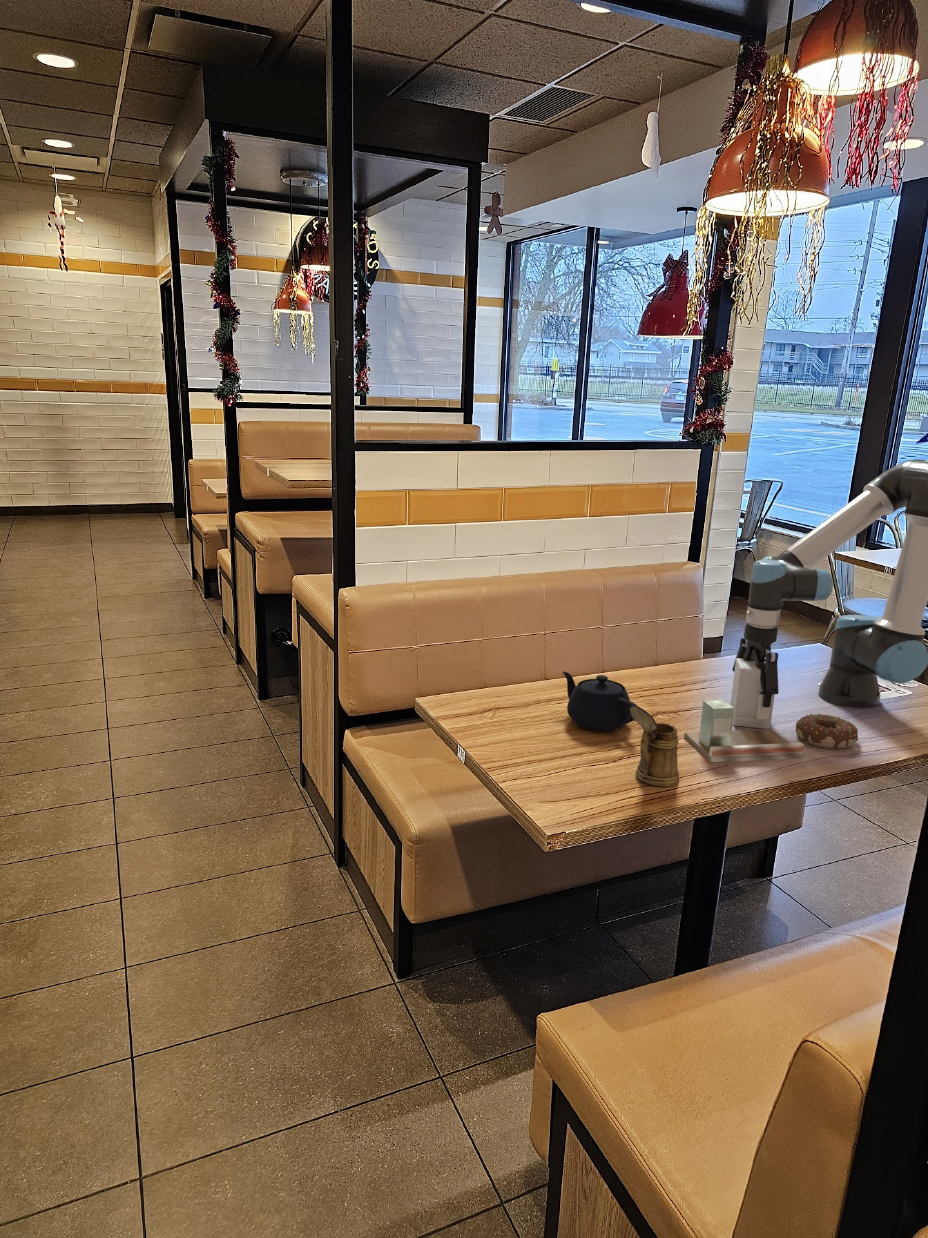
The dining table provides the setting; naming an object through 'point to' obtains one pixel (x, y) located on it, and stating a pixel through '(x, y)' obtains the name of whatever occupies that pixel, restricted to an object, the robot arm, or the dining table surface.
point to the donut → (826, 731)
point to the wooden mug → (656, 751)
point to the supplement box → (748, 695)
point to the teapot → (598, 703)
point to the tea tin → (716, 723)
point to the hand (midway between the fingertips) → (750, 710)
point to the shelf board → (749, 746)
